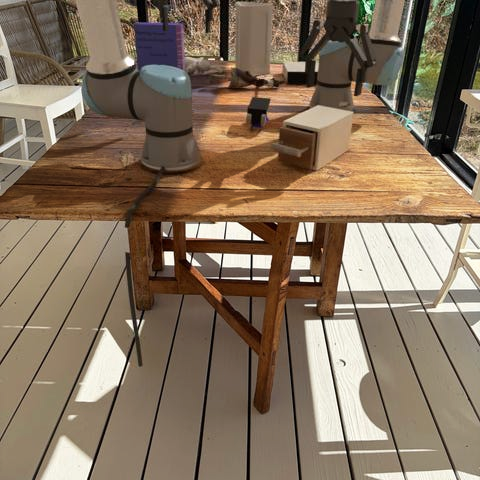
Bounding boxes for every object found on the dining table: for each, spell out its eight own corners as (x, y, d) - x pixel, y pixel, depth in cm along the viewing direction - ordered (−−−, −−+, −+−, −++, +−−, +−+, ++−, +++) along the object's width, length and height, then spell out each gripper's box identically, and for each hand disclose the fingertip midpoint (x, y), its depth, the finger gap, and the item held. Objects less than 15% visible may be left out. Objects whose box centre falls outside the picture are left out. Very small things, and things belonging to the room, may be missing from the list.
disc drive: (287, 84, 198) (287, 71, 196) (281, 72, 218) (282, 61, 215) (329, 84, 199) (330, 72, 196) (320, 72, 218) (321, 61, 216)
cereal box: (185, 88, 190) (183, 22, 177) (183, 91, 186) (180, 24, 173) (142, 87, 190) (136, 21, 178) (139, 90, 186) (133, 23, 174)
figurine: (210, 87, 179) (288, 95, 182) (212, 65, 176) (291, 73, 180) (208, 84, 201) (278, 91, 205) (210, 64, 198) (280, 71, 202)
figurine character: (266, 138, 144) (270, 118, 156) (267, 114, 140) (271, 95, 151) (244, 136, 145) (250, 117, 157) (244, 113, 140) (250, 94, 152)
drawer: (299, 176, 114) (302, 141, 110) (266, 167, 119) (267, 133, 115) (340, 150, 130) (345, 118, 126) (310, 142, 135) (313, 111, 130)
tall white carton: (273, 76, 210) (276, 6, 196) (239, 77, 209) (240, 6, 194) (266, 67, 226) (268, 2, 212) (235, 67, 225) (235, 1, 210)
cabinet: (316, 170, 120) (321, 129, 115) (280, 160, 126) (283, 120, 120) (348, 149, 133) (353, 111, 128) (314, 141, 138) (318, 105, 133)
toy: (175, 82, 199) (174, 65, 195) (149, 71, 216) (148, 55, 212) (224, 75, 210) (224, 59, 207) (196, 65, 228) (196, 50, 224)
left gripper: (229, -49, 136) (229, 32, 147) (148, -50, 141) (153, 28, 152) (222, -49, 130) (222, 35, 141) (137, -50, 135) (144, 31, 146)
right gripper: (400, 1, 109) (384, 95, 120) (304, -5, 121) (298, 81, 132) (388, 4, 104) (372, 102, 115) (289, -3, 116) (284, 86, 127)
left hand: (186, 31), depth 147 cm, fingers open, 13 cm apart
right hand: (333, 91), depth 124 cm, fingers open, 13 cm apart
